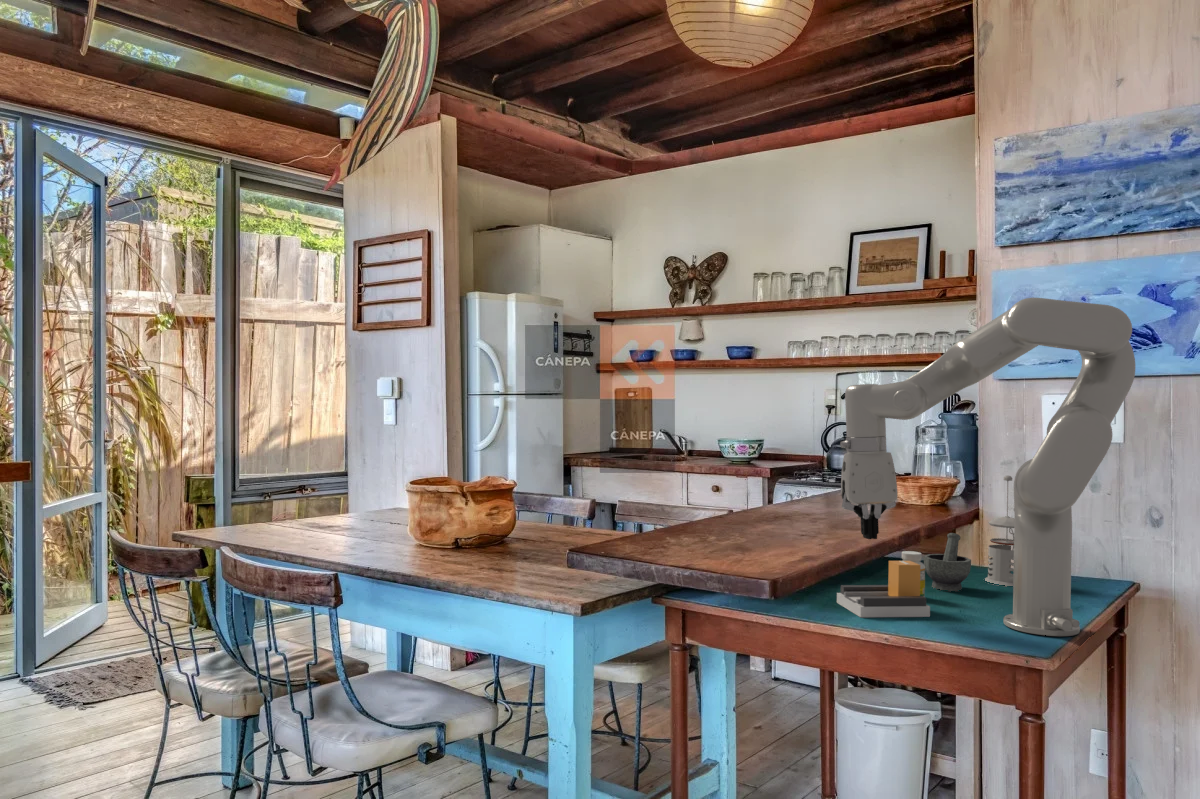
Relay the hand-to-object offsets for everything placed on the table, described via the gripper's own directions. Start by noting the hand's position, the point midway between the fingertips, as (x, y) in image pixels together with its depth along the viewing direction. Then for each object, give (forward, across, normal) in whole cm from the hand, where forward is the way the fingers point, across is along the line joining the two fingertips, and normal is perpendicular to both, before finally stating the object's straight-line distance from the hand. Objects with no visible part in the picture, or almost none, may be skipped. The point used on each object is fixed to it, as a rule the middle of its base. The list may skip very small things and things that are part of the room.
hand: (870, 538), depth 171 cm
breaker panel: (+14, +2, +1) cm, 15 cm away
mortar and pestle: (+15, +26, +20) cm, 36 cm away
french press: (+16, +44, +26) cm, 54 cm away
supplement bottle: (+15, +13, +11) cm, 23 cm away
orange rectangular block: (+12, +7, +1) cm, 14 cm away
